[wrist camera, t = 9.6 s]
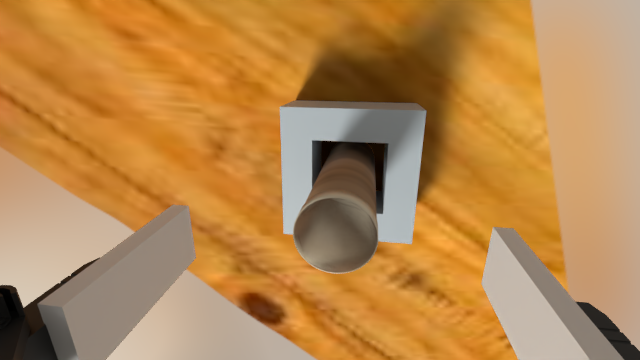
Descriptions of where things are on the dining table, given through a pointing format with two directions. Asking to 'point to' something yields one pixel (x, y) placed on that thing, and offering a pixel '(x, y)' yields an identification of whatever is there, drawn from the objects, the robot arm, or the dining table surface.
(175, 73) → the dining table surface
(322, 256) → the peg
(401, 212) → the socket block
